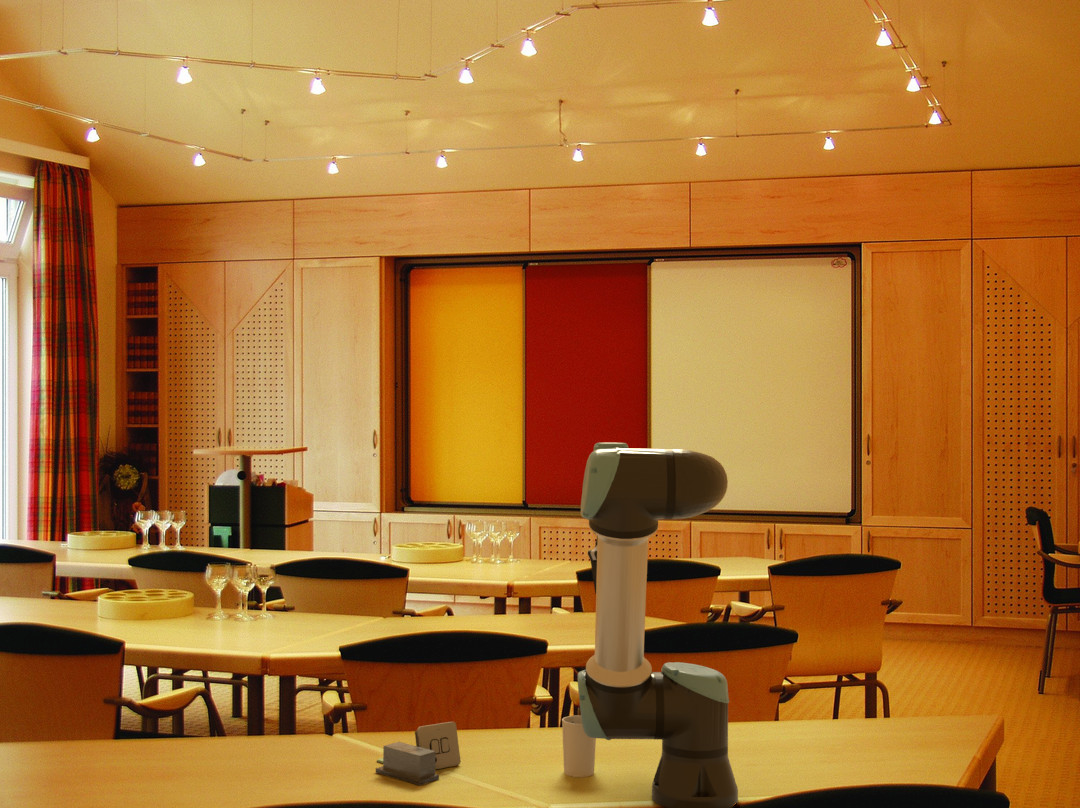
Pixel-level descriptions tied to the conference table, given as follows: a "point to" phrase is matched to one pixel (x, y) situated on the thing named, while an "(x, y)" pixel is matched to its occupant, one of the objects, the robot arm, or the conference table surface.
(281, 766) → the conference table surface
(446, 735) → the electrical switch
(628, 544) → the robot arm
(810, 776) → the conference table surface
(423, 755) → the block
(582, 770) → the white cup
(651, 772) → the conference table surface
